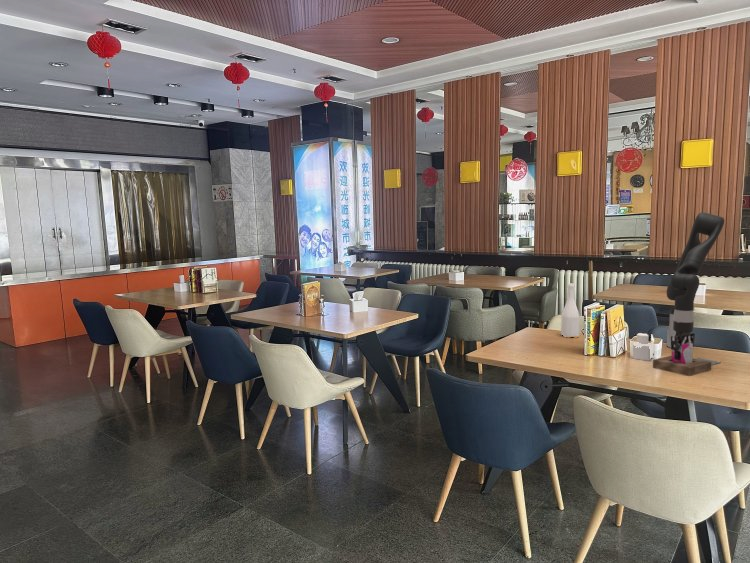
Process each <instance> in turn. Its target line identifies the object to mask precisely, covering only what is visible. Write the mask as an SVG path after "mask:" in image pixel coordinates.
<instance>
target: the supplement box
mask: <svg viewBox="0 0 750 563" xmlns="http://www.w3.org/2000/svg"><path fill="white" fill-rule="evenodd" d="M678 344H680V343H678ZM674 346H675V345H674ZM678 348H679V346H678ZM693 350H694V347H693V344H692V343H685V344H683V345H682V346H681V357H680V360H677V359H675V358H674V355H675V351H674V350H672V349H671V355H672V361H673V362H678V363H682V364H689V363H692V358H694V357H693V352H694V351H693Z"/></svg>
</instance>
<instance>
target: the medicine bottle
mask: <svg viewBox="0 0 750 563" xmlns="http://www.w3.org/2000/svg"><path fill="white" fill-rule="evenodd" d="M636 342H639V343H641V344H648V343H652V334H650V333H648V332H638V333H637V334H636ZM635 347H636V346H634V345H633V344H632V359H634V360H641V361H647V362H649V361H651V360H650V349H649V346H646V345H644V346H642V347H641V348H640V347H639V348H638V347H637V348H635Z"/></svg>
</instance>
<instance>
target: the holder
mask: <svg viewBox="0 0 750 563" xmlns="http://www.w3.org/2000/svg"><path fill="white" fill-rule="evenodd" d="M711 363H712V362H708V361H703V360H699V359H695V358H694V357H692V363H689V364H682V363H678V362H673V361H672V354H671V355H668V356H667V355H666V356H664V357H663V356H662V357H659V358H653V359H652V368H653V369H657V370H662V371H665V372H666V371H667V372H670V373H674V374H678V375H683V376H688V377H690V376H695V375H698V374H702V373H706V372H709V371H711V370H712V365H711Z"/></svg>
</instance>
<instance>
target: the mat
mask: <svg viewBox="0 0 750 563" xmlns="http://www.w3.org/2000/svg"><path fill="white" fill-rule="evenodd" d="M694 359H699V360H703V361H708V362H712V363H711V366H715V365H718V364H721V363H722V362H721V361H717V360H712V359H709V358H708V359H707V358H702V357H695V358H694Z"/></svg>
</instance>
